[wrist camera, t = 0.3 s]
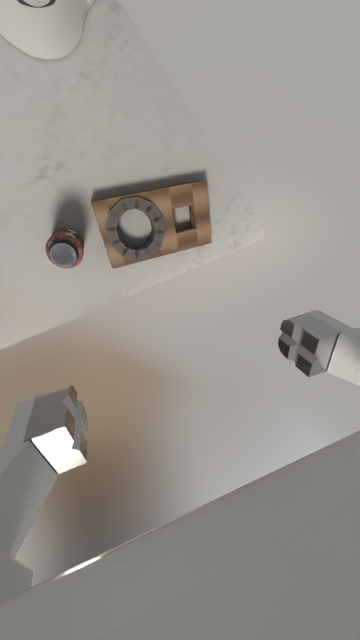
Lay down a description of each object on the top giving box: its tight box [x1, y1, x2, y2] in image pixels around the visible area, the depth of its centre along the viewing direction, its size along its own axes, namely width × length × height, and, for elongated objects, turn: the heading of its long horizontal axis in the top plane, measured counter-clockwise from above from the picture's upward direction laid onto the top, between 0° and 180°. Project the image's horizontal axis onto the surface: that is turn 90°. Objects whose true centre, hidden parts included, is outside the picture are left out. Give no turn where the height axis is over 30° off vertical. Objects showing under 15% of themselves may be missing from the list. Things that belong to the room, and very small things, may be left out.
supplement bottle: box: [46, 229, 84, 268], centre depth 42 cm, size 6×6×11 cm
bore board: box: [91, 180, 212, 269], centre depth 49 cm, size 13×24×4 cm, turn 100°
